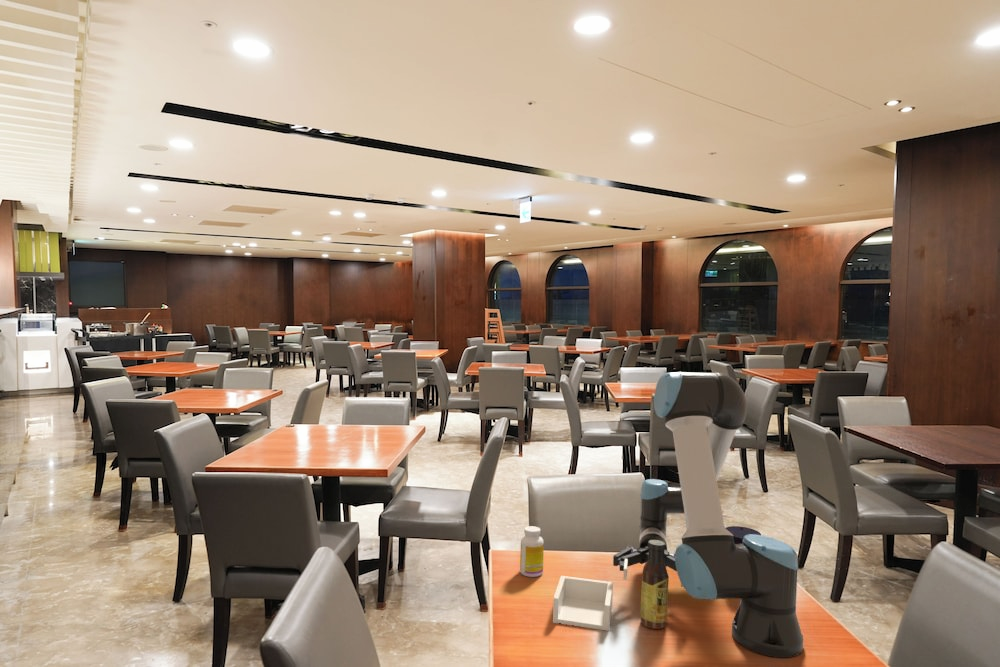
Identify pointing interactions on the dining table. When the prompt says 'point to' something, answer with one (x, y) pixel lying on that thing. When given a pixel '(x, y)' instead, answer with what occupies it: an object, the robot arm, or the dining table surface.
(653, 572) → the sauce bottle
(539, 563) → the supplement bottle
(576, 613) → the bottle stand
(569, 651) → the dining table surface
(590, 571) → the dining table surface
